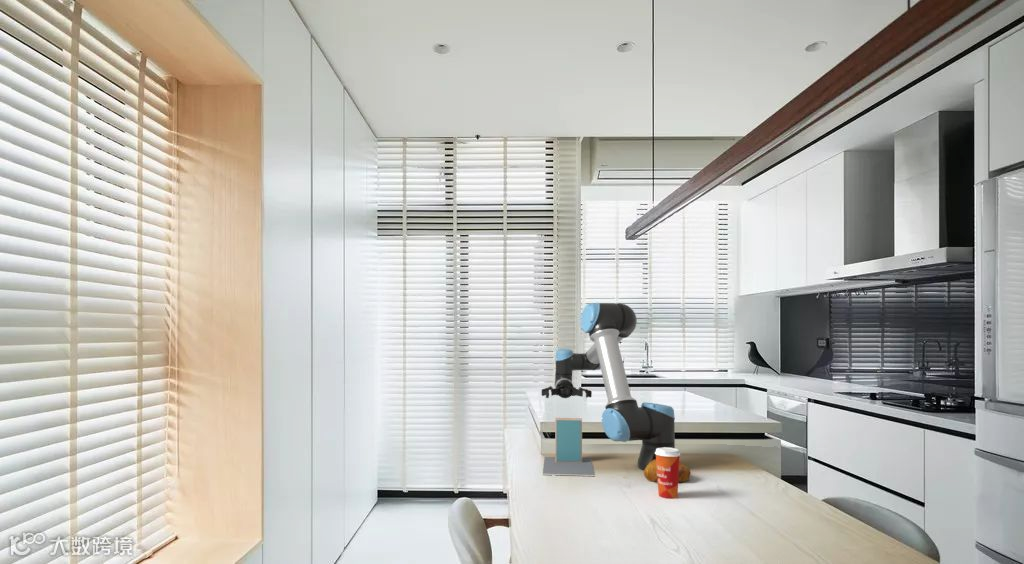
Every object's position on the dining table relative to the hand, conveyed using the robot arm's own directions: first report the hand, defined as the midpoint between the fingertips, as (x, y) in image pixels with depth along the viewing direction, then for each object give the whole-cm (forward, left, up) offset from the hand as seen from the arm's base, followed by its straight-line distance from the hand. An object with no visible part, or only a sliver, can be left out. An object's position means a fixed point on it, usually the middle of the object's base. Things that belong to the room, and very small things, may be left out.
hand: (567, 396), depth 232 cm
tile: (-7, +3, -23) cm, 25 cm away
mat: (-12, +6, -24) cm, 27 cm away
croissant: (-39, -17, -24) cm, 49 cm away
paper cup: (-56, -4, -24) cm, 61 cm away
